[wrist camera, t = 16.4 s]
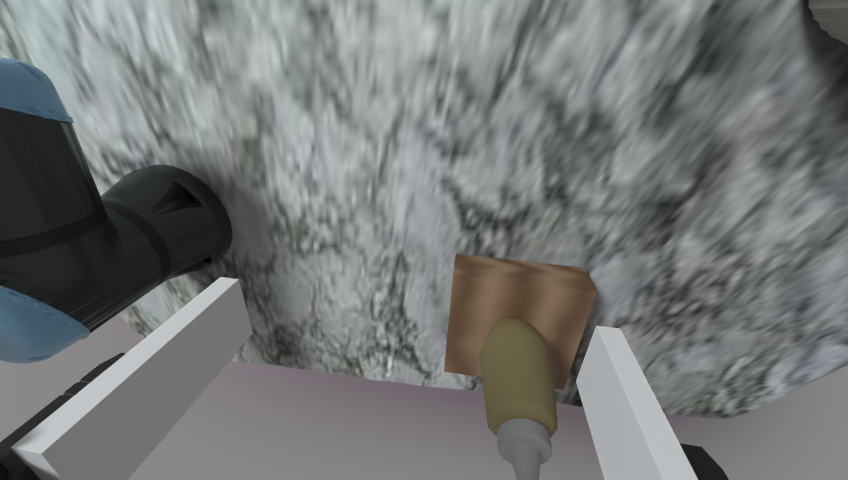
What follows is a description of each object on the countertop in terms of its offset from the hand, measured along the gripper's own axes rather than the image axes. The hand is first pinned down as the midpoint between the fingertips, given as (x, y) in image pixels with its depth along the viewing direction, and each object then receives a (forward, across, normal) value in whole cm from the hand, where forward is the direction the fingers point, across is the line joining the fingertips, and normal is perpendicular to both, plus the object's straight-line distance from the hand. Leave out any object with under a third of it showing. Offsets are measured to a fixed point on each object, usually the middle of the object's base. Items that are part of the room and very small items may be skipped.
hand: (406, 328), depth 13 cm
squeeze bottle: (+24, +9, -21) cm, 33 cm away
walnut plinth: (+29, +9, -21) cm, 37 cm away
